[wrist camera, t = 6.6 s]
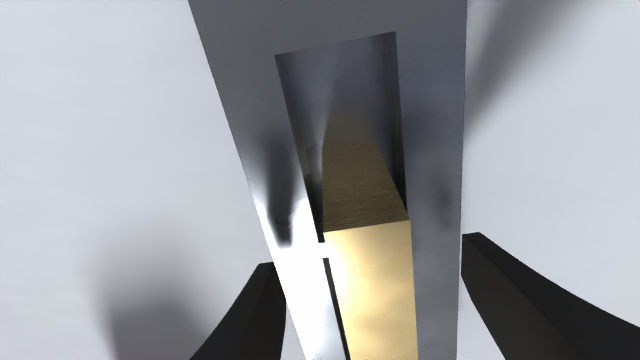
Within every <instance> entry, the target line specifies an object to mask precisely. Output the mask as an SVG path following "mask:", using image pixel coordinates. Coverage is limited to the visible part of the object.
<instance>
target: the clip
mask: <svg viewBox="0 0 640 360" xmlns="http://www.w3.org/2000/svg"><path fill="white" fill-rule="evenodd" d="M322 189H323V233H324V238H325V243H326V247H327V252H328V256H329V261H330V266H331V270H332V275H333V279H334V284H335V289H336V293H337V298H338V302H339V307H340V312H341V316H342V321H343V325H344V330H345V335H346V339H347V344H348V348H349V353H350V358H351V360H418V348H417V330H416V313H415V295H414V277H413V259H412V241H411V223H410V218H409V216H408V214H407V211H406V209H405V207H404V205H403V202H402V200H401V198H400V196H399V193H398V191H397V189H396V187H395V184H394V182H393V180H392V178H391V175H390V173H389V171H388V168H387V166H386V164H385V162H384V159H383V157H382V155H381V153H380V150H379V148H378V146H377V144H376V141H373V142H367V143H361V144H355V145H349V146H343V147H337V148H332V149H326V150H322Z"/></svg>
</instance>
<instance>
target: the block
mask: <svg viewBox="0 0 640 360" xmlns="http://www.w3.org/2000/svg"><path fill="white" fill-rule="evenodd" d="M188 2H189V5H190V8H191V11H192V15H193V18H194V21H195V24H196V27H197V30H198V33H199V36H200V39H201V42H202V45H203V48H204V51H205V54H206V57H207V60H208V63H209V66H210V69H211V72H212V75H213V78H214V81H215V84H216V87H217V90H218V93H219V96H220V99H221V102H222V105H223V108H224V111H225V114H226V117H227V121H228V124H229V127H230V130H231V133H232V136H233V139H234V142H235V145H236V148H237V151H238V154H239V157H240V160H241V163H242V166H243V169H244V172H245V175H246V178H247V181H248V184H249V187H250V190H251V193H252V196H253V199H254V202H255V205H256V208H257V211H258V214H259V217H260V220H261V223H262V227H263V230H264V233H265V236H266V239H267V242H268V245H269V248H270V251H271V254H272V257H273V260H274V263H275V266H276V269H277V272H278V275H279V278H280V281H281V284H282V287H283V290H284V293H285V296H286V299H287V302H288V305H289V308H290V311H291V314H292V317H293V320H294V323H295V326H296V329H297V333H298V336H299V339H300V342H301V345H302V348H303V351H304V354H305V357H306V360H351V358H350V353H349V348H348V344H347V339H346V335H345V330H344V325H343V321H342V316H341V312H340V307H339V302H338V298H337V293H336V289H335V284H334V279H333V275H332V270H331V266H330V261H329V256H328V252H327V247H326V243H325V238H324V233H323V189H322V150H326V149H332V148H337V147H343V146H349V145H355V144H361V143H367V142H373V141H376V144H377V146H378V148H379V150H380V153H381V155H382V157H383V159H384V162H385V164H386V166H387V168H388V171H389V173H390V175H391V178H392V180H393V182H394V184H395V187H396V189H397V191H398V193H399V196H400V198H401V200H402V202H403V205H404V207H405V209H406V211H407V214H408V216H409V218H410V223H411V241H412V259H413V277H414V295H415V313H416V330H417V348H418V360H456V356H457V322H458V288H459V254H460V220H461V187H462V153H463V119H464V85H465V51H466V18H467V0H188Z"/></svg>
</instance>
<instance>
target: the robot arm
mask: <svg viewBox="0 0 640 360" xmlns="http://www.w3.org/2000/svg"><path fill="white" fill-rule="evenodd" d="M461 276H462V279H463V281H464V283H465V286H466V288H467V291H468V293H469V295H470V298H471V300H472V302H473V304H474V305H475V307H476V309H477V311H478V313H479V314H480V316H481V318H482V320H483V321H484V323H485V325H486V327H487V328H488V330H489V332H490V334H491V335H492V337H493V339H494V340H495V342H496V344H497V346H498V347H499V349H500V351H501V353H502V354H503V356H504V358H505V360H640V327H638V326H635V325H633V324H631V323H629V322H627V321H625V320H623V319H620V318H618V317H616V316H614V315H612V314H610V313H608V312H606V311H604V310H602V309H600V308H598V307H596V306H594V305H592V304H591V303H589V302H587V301H585V300H583V299H581V298H579V297H577V296H576V295H574V294H572V293H570V292H569V291H567V290H565V289H563V288H562V287H560V286H558V285H557V284H555V283H553V282H552V281H550V280H548V279H547V278H545V277H544V276H542V275H540V274H539V273H537V272H536V271H534V270H533V269H531V268H530V267H528V266H527V265H525V264H524V263H522V262H521V261H519V260H518V259H516V258H515V257H514V256H512V255H511V254H509V253H508V252H506V251H505V250H504V249H502V248H501V247H499V246H498V245H497V244H495V243H494V242H492V241H491V240H490V239H488V238H487V237H486V236H484V235H483V234H481V233H480V232H476V233H469V234H462V261H461ZM285 324H286V296H285V293H284V290H283V287H282V284H281V281H280V278H279V275H278V272H277V269H276V266H275V263H274V262H268V263H261V264H259V265H258V266H257V267H256V269H255V271H254V272H253V274H252V275H251V277H250V279H249V280H248V282H247V283H246V285H245V287H244V288H243V290H242V291H241V293H240V294H239V296H238V297H237V299H236V300H235V302H234V303H233V305H232V306H231V308H230V309H229V311H228V312H227V313H226V315H225V316H224V317H223V319H222V320H221V322H220V323H219V324H218V326H217V327H216V328H215V330H214V331H213V332H212V334H211V335H210V336H209V337H208V339H207V340H206V341H205V342H204V343H203V345H202V346H201V347H200V348H199V349H198V351H197V352H196V353H195V354H194V355H193V356H192V357H191V359H190V360H280V359H281V352H282V345H283V338H284V331H285Z"/></svg>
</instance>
